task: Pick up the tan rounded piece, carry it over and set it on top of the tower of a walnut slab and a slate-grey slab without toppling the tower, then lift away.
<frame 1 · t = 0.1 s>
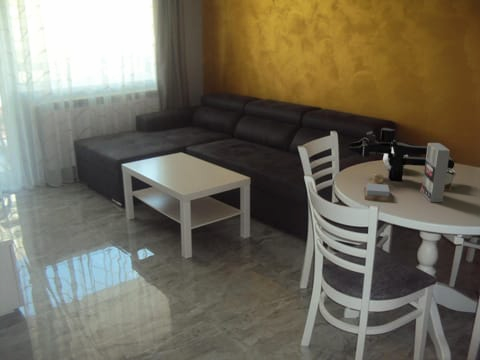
hand: (349, 146, 252), 17 cm above the table, tool horizontal, fingers open, 9 cm apart
food container: (440, 187, 241), on the table
grey handheld device: (430, 197, 228), on the table
tan rounded piece: (377, 184, 245), on the table
tower base block: (377, 197, 229), on the table, touching tower top block
geodesic sphere: (394, 169, 269), on the table
tower top block: (377, 192, 228), point 2 cm above the table, touching tower base block
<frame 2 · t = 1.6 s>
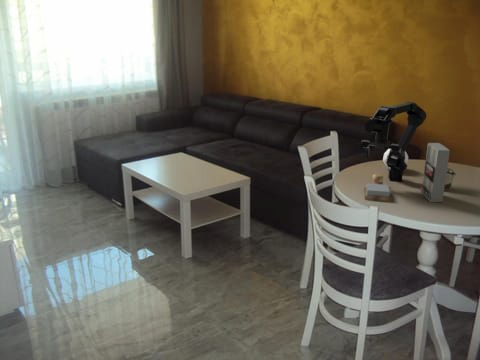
hand: (377, 162, 241), 12 cm above the table, tool pointing down, fingers open, 9 cm apart
nothing on the table moved.
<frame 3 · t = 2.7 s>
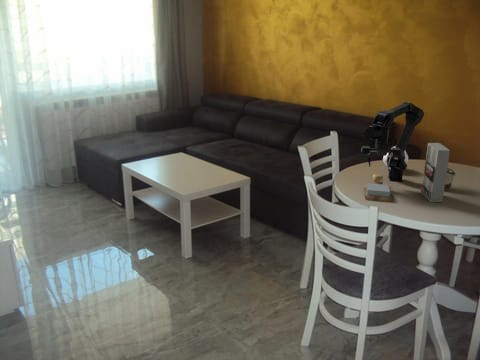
hand: (379, 167, 242), 9 cm above the table, tool pointing down, fingers open, 9 cm apart
nothing on the table moved.
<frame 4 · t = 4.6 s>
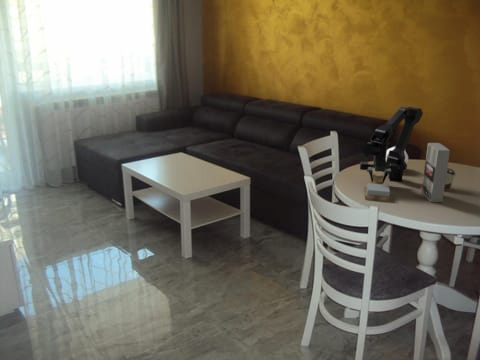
hand: (377, 182, 244), 1 cm above the table, tool pointing down, fingers closed on tan rounded piece, 5 cm apart
tan rounded piece: (377, 184, 245), on the table, touching gripper
everything else where it was.
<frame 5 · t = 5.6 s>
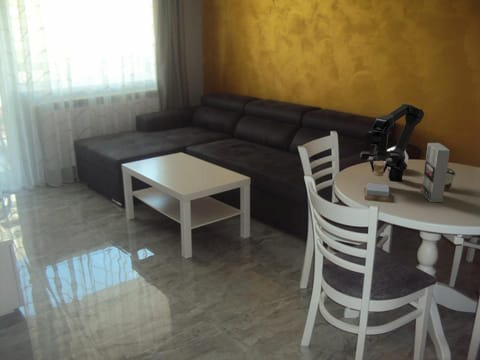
hand: (378, 172, 242), 6 cm above the table, tool pointing down, fingers closed on tan rounded piece, 5 cm apart
tan rounded piece: (378, 174, 243), point 5 cm above the table, touching gripper
everything else where it was.
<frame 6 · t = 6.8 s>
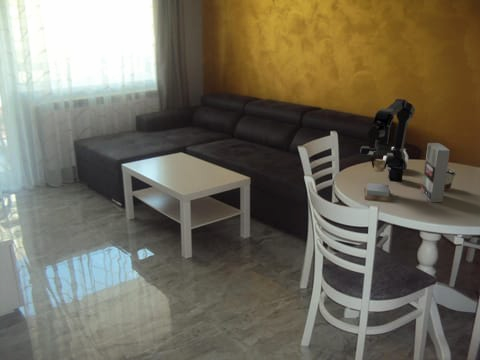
hand: (378, 168, 232), 12 cm above the table, tool pointing down, fingers closed on tan rounded piece, 5 cm apart
tan rounded piece: (378, 170, 233), point 11 cm above the table, touching gripper
everything else where it was.
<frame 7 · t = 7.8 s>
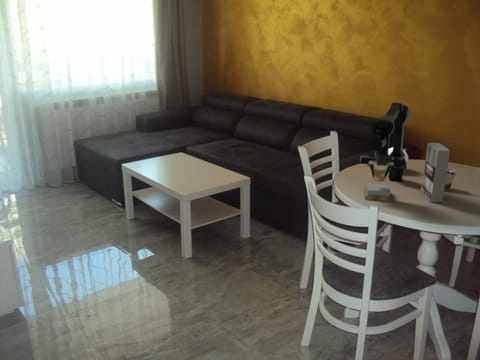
hand: (379, 177, 226), 9 cm above the table, tool pointing down, fingers closed on tan rounded piece, 5 cm apart
tan rounded piece: (378, 179, 226), point 8 cm above the table, touching gripper
everything else where it was.
when the fingers open (7 cm above the table, at t = 9.0 s): tan rounded piece drops 2 cm, resting on tower top block.
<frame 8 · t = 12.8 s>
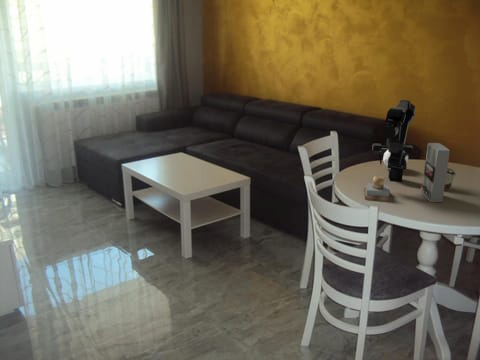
hand: (390, 165, 236), 12 cm above the table, tool pointing down, fingers open, 9 cm apart
tan rounded piece: (377, 187, 228), point 4 cm above the table, touching tower top block
tower top block: (377, 192, 229), point 2 cm above the table, touching tan rounded piece, tower base block
everything else where it was.
at the end: tan rounded piece 0.2 cm off-centre on the tower top block, point 2.5 cm above the tower top block's base; tower top block 0.2 cm off-centre on the tower base block, point 2.5 cm above the tower base block's base; tower top block tilted 0° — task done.
